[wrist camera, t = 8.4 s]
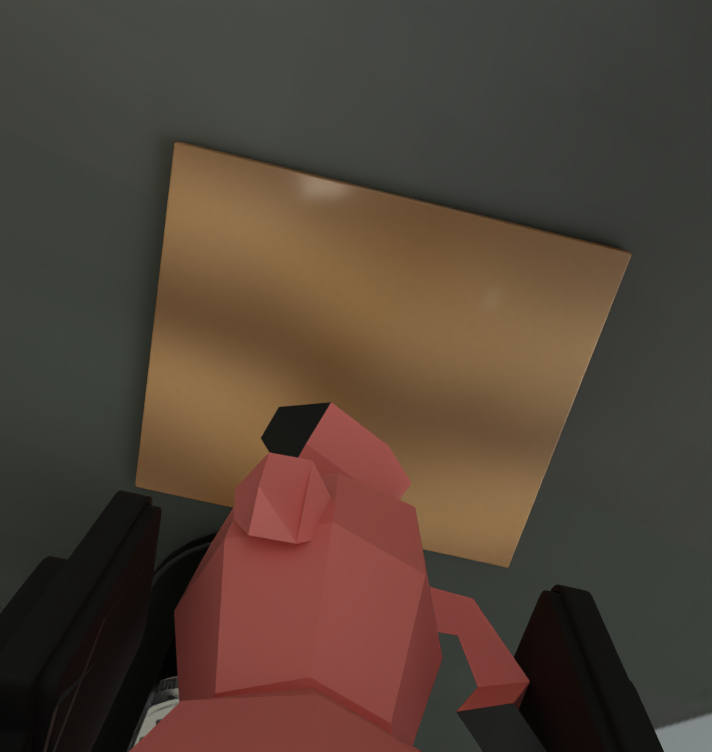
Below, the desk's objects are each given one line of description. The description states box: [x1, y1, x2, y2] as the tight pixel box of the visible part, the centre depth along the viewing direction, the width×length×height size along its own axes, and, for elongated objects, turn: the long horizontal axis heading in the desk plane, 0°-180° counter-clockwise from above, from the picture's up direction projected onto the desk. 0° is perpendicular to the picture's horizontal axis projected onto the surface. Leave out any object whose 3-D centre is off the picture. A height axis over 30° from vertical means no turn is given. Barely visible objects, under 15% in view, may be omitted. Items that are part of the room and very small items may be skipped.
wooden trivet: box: [135, 142, 632, 567], centre depth 21 cm, size 12×14×1 cm
